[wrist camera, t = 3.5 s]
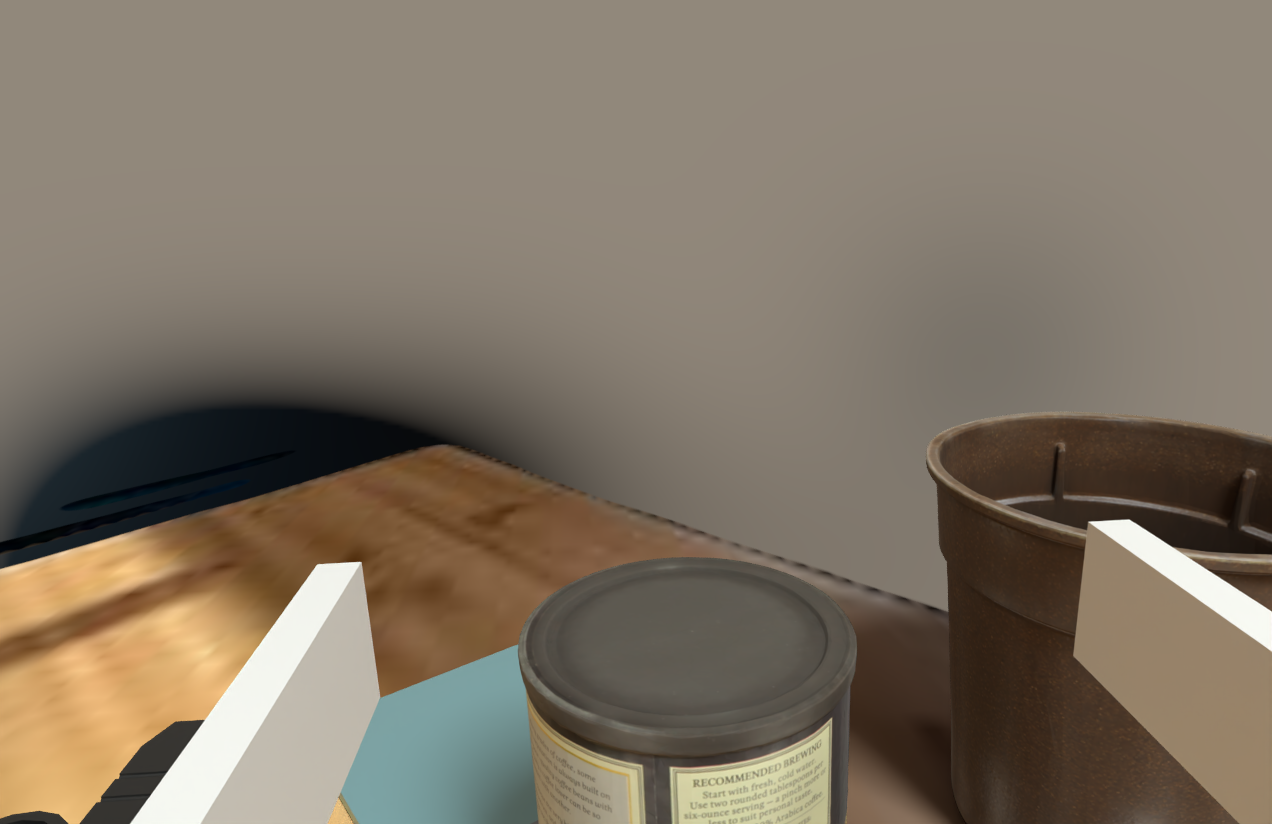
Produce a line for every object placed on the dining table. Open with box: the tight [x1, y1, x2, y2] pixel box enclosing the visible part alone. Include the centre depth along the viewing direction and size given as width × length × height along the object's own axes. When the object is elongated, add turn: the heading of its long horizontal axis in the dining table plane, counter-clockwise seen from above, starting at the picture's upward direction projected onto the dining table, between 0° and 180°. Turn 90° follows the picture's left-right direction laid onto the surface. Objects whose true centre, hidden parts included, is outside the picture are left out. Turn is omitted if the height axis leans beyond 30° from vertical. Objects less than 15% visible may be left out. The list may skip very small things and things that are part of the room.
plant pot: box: [926, 412, 1272, 824], centre depth 35 cm, size 16×16×16 cm
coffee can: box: [518, 557, 857, 824], centre depth 28 cm, size 10×10×14 cm
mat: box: [339, 645, 538, 824], centre depth 42 cm, size 14×14×1 cm
